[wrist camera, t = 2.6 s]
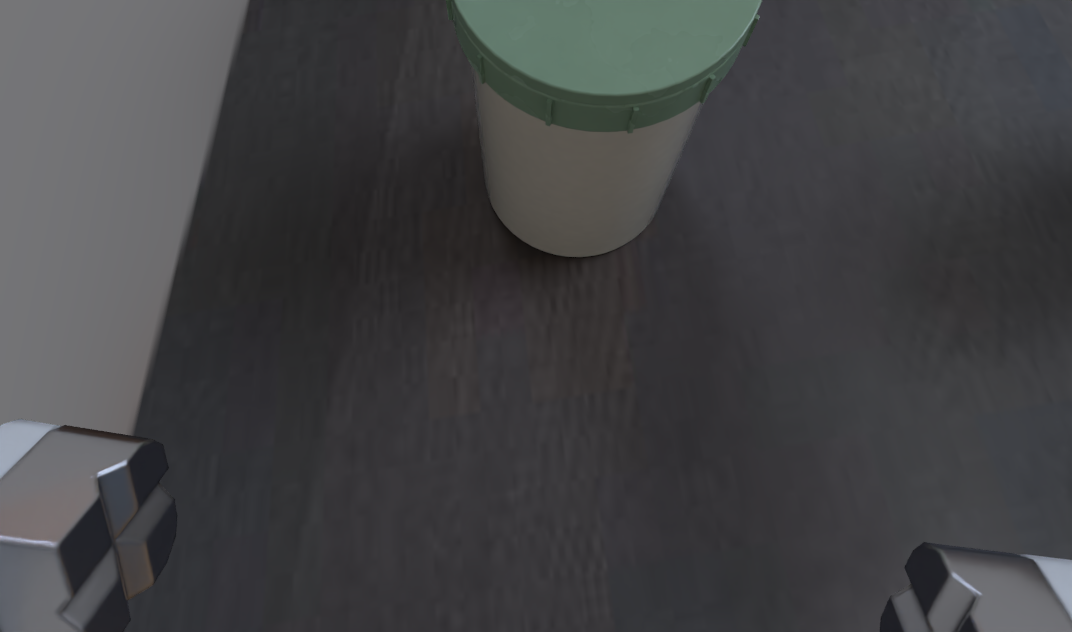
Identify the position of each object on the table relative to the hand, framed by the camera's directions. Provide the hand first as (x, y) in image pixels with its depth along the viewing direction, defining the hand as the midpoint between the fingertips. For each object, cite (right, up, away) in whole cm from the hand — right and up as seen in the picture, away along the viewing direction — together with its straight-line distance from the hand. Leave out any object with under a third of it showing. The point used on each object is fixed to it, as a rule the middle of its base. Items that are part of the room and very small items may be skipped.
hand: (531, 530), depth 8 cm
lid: (+1, +10, +7) cm, 12 cm away
